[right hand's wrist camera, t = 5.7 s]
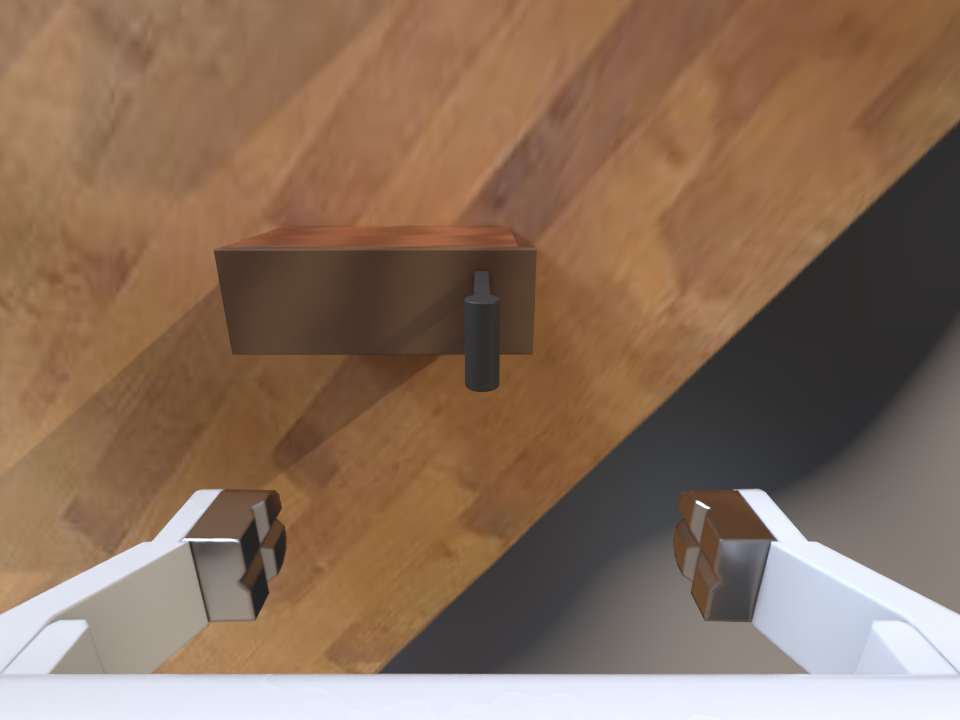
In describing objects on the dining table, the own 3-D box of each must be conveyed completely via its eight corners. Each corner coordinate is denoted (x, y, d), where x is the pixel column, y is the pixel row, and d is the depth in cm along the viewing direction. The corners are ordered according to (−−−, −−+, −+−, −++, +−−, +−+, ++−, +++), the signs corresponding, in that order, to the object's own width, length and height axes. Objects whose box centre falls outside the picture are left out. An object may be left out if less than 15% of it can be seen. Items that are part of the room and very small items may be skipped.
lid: (534, 245, 27) (555, 278, 19) (530, 348, 29) (548, 412, 21) (223, 246, 27) (124, 279, 19) (240, 348, 29) (157, 413, 21)
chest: (509, 226, 35) (518, 245, 27) (507, 306, 37) (515, 347, 29) (282, 226, 35) (223, 245, 27) (293, 306, 37) (241, 347, 29)
